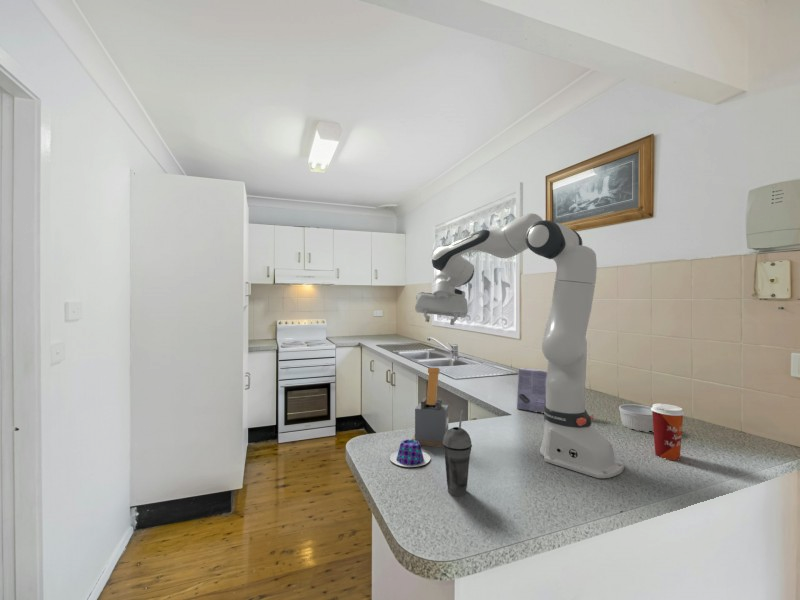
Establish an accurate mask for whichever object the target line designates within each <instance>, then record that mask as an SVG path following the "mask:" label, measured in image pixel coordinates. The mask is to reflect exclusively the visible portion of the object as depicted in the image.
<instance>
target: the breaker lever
mask: <svg viewBox="0 0 800 600" xmlns="http://www.w3.org/2000/svg"><path fill="white" fill-rule="evenodd" d="M440 370H441V369H440V368H439V367H428V368H427V373H428V380H427V392H426V393H427V394H426V398H427V402H426V407H429V408H436V402H437V400H438V399H437V398H438V395H437V394H438V385H439V384H438V383H439V375H440V372H441V371H440Z"/></svg>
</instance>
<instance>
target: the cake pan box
mask: <svg viewBox="0 0 800 600" xmlns="http://www.w3.org/2000/svg"><path fill="white" fill-rule="evenodd" d="M546 376H547V370H542V369H534V368H526V367H520V368H518V376H517V377H518V379H517V395H516V396H517V399H516V400H517V401H516V409H517V410H520V409H524V410H523V411H526V410H530V411H529V412H532V411H537V412H543V413H544V406H545V405H546ZM537 412H536V413H537ZM543 413H542V414H543Z"/></svg>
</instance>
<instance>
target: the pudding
mask: <svg viewBox="0 0 800 600" xmlns="http://www.w3.org/2000/svg"><path fill="white" fill-rule="evenodd" d="M389 459H390V461H391V462H392V463H393V464H395V465H397V466H400V467H406V468H414V467H421V466H422V467H423V466H424V465H427V464H428V463H429V462H430V461H431V456H430V454H429V453H427V452H424V451H422V445H420V443H419V442H418V441H415V440H412V439H410V438H409V439H404V440H402V441H401V442H400V445H399V448H398V450H397V451H395V452H393V453H392V454H391V455H390V457H389Z"/></svg>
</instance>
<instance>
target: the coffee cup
mask: <svg viewBox="0 0 800 600" xmlns="http://www.w3.org/2000/svg"><path fill="white" fill-rule="evenodd" d="M651 407H652V408H651V410H652V415H653V431H654V432H653V441H654V442H653V443H654V453H655V455H656V457H658V456H659V458H660V457H662V458H661V459H663V458H666V459H665V460H667V459H670V460H669V461H679V460H680V457H681V450H682V449H681V447H682V436H683V435H682V434H683V422H684V416H685V412H684V411H683V408H682V407H680V406H678V405H673V404H669V403H654V404H652V406H651ZM678 459H679V460H678Z"/></svg>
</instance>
